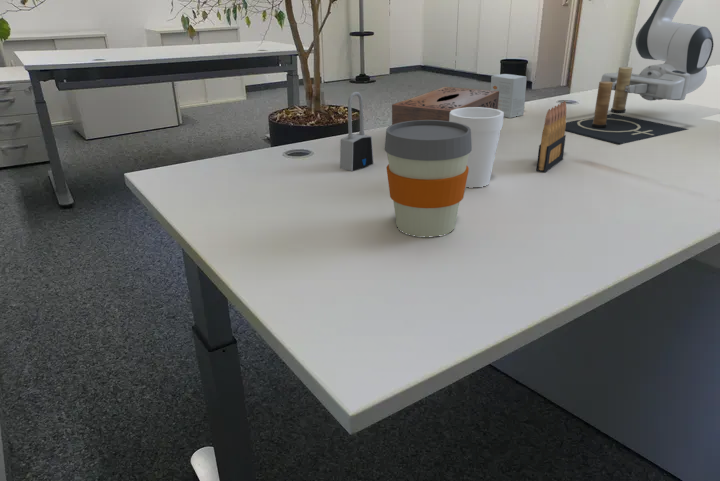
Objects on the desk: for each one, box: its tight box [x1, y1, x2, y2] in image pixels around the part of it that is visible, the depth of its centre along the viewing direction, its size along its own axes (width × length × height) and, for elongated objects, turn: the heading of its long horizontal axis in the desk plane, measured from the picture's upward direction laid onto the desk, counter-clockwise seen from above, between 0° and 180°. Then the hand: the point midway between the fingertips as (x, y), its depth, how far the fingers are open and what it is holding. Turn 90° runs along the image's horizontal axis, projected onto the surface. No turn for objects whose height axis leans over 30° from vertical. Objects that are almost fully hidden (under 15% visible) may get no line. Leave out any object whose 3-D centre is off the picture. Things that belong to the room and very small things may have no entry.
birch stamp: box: [610, 66, 633, 114], centre depth 136 cm, size 3×3×11 cm
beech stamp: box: [592, 80, 613, 128], centre depth 135 cm, size 3×3×11 cm
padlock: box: [339, 91, 374, 172], centre depth 110 cm, size 7×4×15 cm, turn 138°
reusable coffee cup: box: [384, 120, 472, 237], centre depth 81 cm, size 13×13×15 cm
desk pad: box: [565, 113, 689, 146], centre depth 136 cm, size 22×24×1 cm
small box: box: [490, 73, 528, 119], centre depth 151 cm, size 8×6×10 cm
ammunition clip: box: [535, 100, 567, 173], centre depth 108 cm, size 11×2×12 cm, turn 144°
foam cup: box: [449, 107, 505, 189], centre depth 100 cm, size 10×9×13 cm
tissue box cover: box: [391, 86, 499, 125], centre depth 128 cm, size 26×14×10 cm, turn 146°
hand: (619, 88), depth 136 cm, fingers closed on birch stamp, 3 cm apart
